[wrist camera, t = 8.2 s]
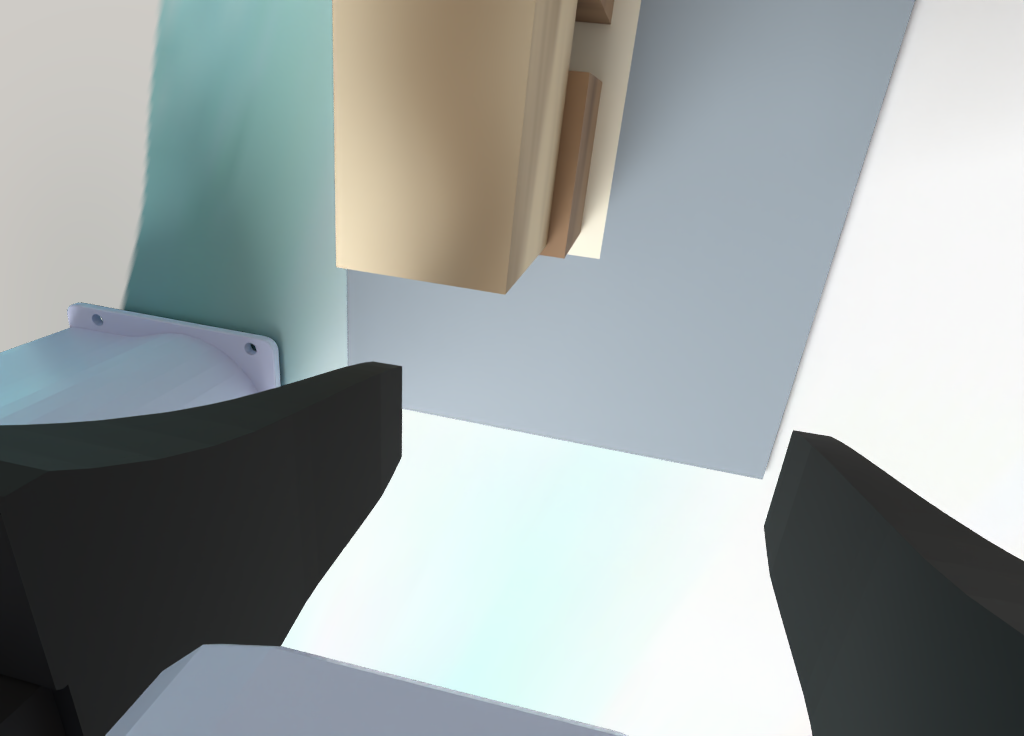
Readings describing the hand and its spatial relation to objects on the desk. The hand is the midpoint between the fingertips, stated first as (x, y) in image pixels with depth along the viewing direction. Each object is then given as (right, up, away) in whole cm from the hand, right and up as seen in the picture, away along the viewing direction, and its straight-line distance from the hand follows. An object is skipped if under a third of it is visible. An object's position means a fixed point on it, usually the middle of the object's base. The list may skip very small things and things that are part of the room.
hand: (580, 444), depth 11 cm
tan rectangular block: (-2, +10, +3) cm, 10 cm away
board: (+1, +8, +8) cm, 11 cm away
